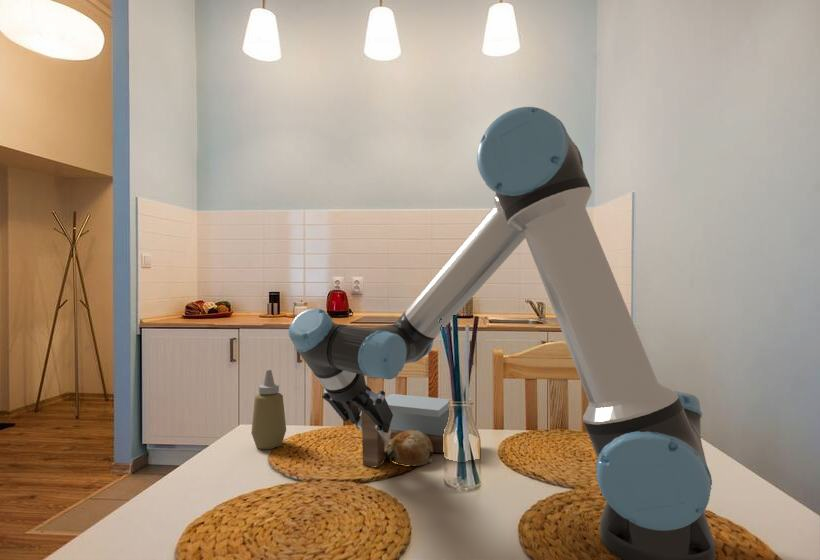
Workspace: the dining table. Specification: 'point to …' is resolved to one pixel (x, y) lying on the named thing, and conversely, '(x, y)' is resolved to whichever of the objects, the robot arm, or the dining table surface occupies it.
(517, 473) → the dining table surface
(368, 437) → the wooden l-shaped post
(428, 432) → the low gray box
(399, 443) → the bread roll
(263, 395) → the squeeze bottle
